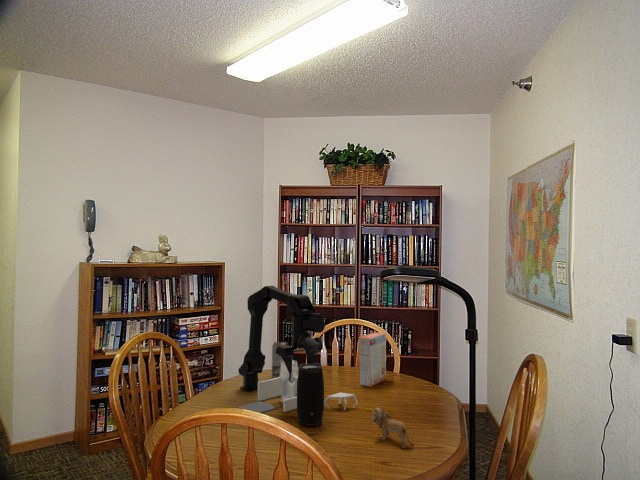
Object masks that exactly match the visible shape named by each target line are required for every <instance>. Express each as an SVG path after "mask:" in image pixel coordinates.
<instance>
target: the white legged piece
mask: <svg viewBox="0 0 640 480" xmlns="http://www.w3.org/2000/svg"><path fill="white" fill-rule="evenodd" d="M349 398H353V400H354V402H355V404H353V405H352V408H353V409H356V408H355V406H356V405H358V404H359V403H358V399H357V397H356V394H354V393H347V392H341V391H340V392H337V393H334V394H330V395H327V397H326V398H324V406H325V407H327V408H326V409H328V410H329V408H330V406H329V405H328V404H327V403H326V402H327V401H328V400H330V399H332V400H333V399H335V400H337V399H338V405H339V406H340V405H342V404H341V403H342V399H344V405H343V410H344V411H346V410H347V409H346V407H347V404H348V401H347V399H349Z"/></svg>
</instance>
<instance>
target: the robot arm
mask: <svg viewBox="0 0 640 480" xmlns="http://www.w3.org/2000/svg"><path fill="white" fill-rule="evenodd" d="M273 300H275V301H276V302H277V301H278V302H280V303H282V304H284V305H286V306H287V308H288V309H289V310H291V312H290V313H289V314H288V317H292V330H291V331H290V332H289V333H290V335H291V336H292V339H291V340H292V341H291V342H290V343H289V345H290V346H289V345H288V346H286V345H283V346H278V347H277V348H276V354H278V355H279V356H281V357H282V359H283V361H284V363H285V365H286V367H287V370H288V372H289V373H292V360H294V358H295V355H294V353H295V352H300V351H304V350H305V359H306V364H312V363H314V360H315V357H316V355H317V354H319V353H320V352H321V350H323V349H324V344H323V343H322V338H321V337H320V336H317V337H311V332H312V333H316V334H321V333H322V332H324V330H325V328H326V322H325V319H324V318H323V317H322V314H321V313H317V312H316V309H315V307H314V305H313V303H312V301H311V297H309V296H308V295H307V294H297V293H296V294H295V293H291V292H289V291H286V290H283V289H280V288H278V287H276V286H274V285H266V286H265V285H264V286H263V287H262V288H261V289H259V290H258V291H255V292H254V293H252V294H250V295H249V296H248V298H247V301H246V302H247V310H248V312H249V315H250V325H249V341H248V349H247V352H246V353H245V355H244V356H243V363H242V364H241V365H240V367H239V368H238V370H237V371H238V375H240V376H242V381H243V382H242V384H243V385H242V386H240V387H239V389H241V390H244V391H245V392H252V391H256V390H257V391H258V382H259V375H258V374H263V369H264V366H265V365H266V355H265V354H263V352H262V349H261V348H262V338H263V322H264V315H265V314H266V312H267V311H268V308H269V303H271V302H272V301H273Z"/></svg>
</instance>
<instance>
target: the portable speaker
mask: <svg viewBox="0 0 640 480" xmlns="http://www.w3.org/2000/svg"><path fill="white" fill-rule="evenodd" d="M323 373H324V370H323V365H322V364H321V363H319V362H313V363H312V364H307V363H300V364H299V365H298V379H297V394H296V396H297V408H296V409H297V418H298V425H300V426H301V427H304V428H306V427H307V426H314V427H321V425H322V423H323V422H322V421H323V417H324V409H325V404H324V403H325V402H324V400H325V381H324V374H323Z"/></svg>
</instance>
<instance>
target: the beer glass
mask: <svg viewBox="0 0 640 480" xmlns="http://www.w3.org/2000/svg"><path fill="white" fill-rule="evenodd" d="M298 373H299V365H298V361H297V360H294V359H292V373H289V372H288V370H287V367H286V365H285V363H284V361H281V362H280V382H281V388H282V395H280V402H281V403H282V404H283V400H285V399H289V398H293V397H296V396H297V394H296V384H297V378H298Z"/></svg>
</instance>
